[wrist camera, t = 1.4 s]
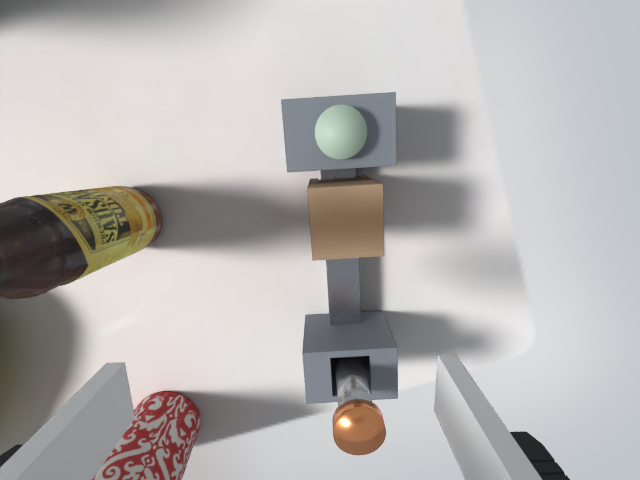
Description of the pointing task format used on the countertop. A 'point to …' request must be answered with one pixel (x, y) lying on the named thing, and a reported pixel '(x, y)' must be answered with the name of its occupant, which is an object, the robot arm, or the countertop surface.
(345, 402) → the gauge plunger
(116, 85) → the countertop surface
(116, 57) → the countertop surface
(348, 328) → the cabinet far
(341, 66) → the countertop surface
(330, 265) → the rail
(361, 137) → the cabinet near
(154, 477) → the mug
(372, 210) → the carriage
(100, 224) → the sauce bottle
